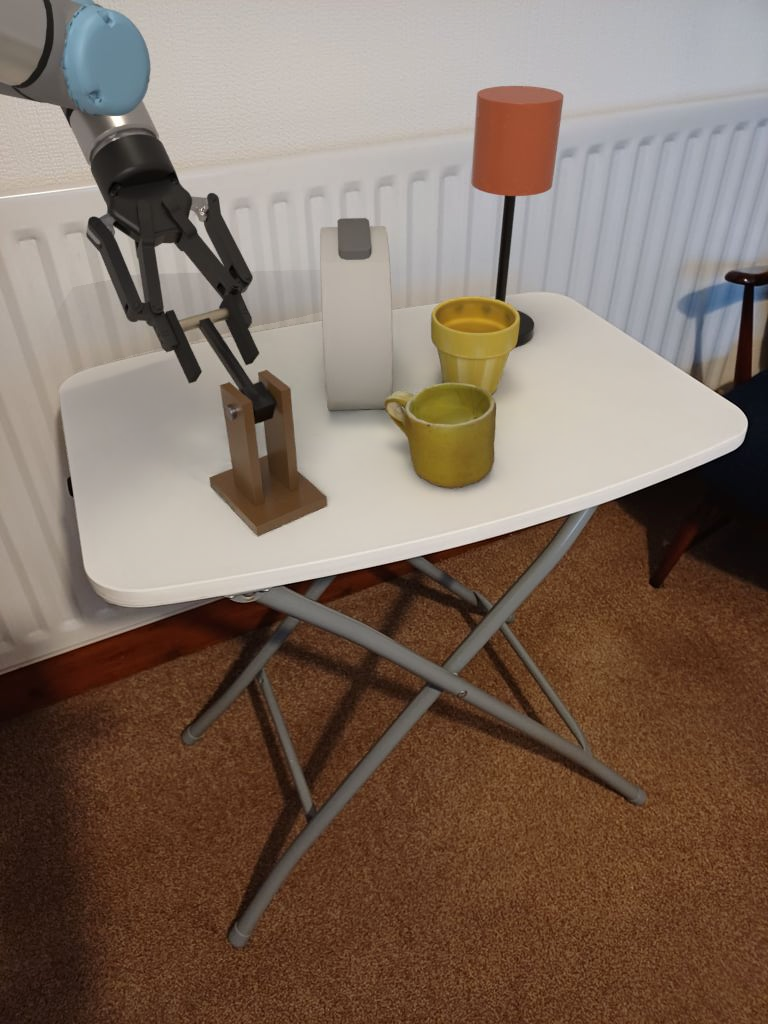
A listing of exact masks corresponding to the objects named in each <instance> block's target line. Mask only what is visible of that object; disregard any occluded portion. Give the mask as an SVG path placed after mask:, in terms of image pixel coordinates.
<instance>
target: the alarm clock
mask: <svg viewBox="0 0 768 1024" xmlns="http://www.w3.org/2000/svg"><path fill="white" fill-rule="evenodd" d="M336 223H337V226H323V227H321V228H320V232H319V238H320V239H319V255H320V257H319V258H320V263H319V264H320V292H321V293H320V295H321V296H320V297H321V319H322V322H321V323H322V342H323V343H322V344H323V362H324V363H323V364H324V377H325V378H324V379H325V394H326V406H327V410H328V411H354V410H355V411H356V410H357V411H358V410H359V411H360V410H386V408H385V405H384V403H385V400H386V399H387V398H388V397H389V396H391V395H392V394H393V371H394V370H393V369H394V368H393V366H394V364H393V363H394V359H393V358H394V357H393V356H394V354H393V353H394V351H393V349H394V348H393V347H394V346H393V345H394V343H393V342H394V341H393V339H394V338H393V337H394V336H393V335H394V334H393V332H394V331H393V298H392V297H393V296H392V276H391V273H392V272H391V259H390V258H391V257H390V245H389V238H388V236H389V235H388V232H387V228H386V226H385V225H375V226H374V225H372V226H370V220H369V219H368V218H366V217H351V218H349V217H348V218H339V219H338V220H337V222H336Z"/></svg>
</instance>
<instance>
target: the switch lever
mask: <svg viewBox="0 0 768 1024" xmlns="http://www.w3.org/2000/svg"><path fill="white" fill-rule="evenodd" d="M229 318H230V313H229V311H228V309H227V308H226V307H224V308H220V309H219V308H217V309H213V310H211V311H206V312H202V313H199V314H195V315H192V316H189V317H185V318H180V319H178V321H179V323H180V325H181V327H182V329H183V331H184V333H185V332H186V333H187V332H190V331H193V330H196V329H198V330H200V332H201V334H202V335H203V336H204V338H205V339H206V341H207V343H208V344H209V346H210V348H211V349H212V350H213V352H214V353H215V355H216V357H217V358H218V360H219V361H220V363H221V364H222V366H223V367H224V369H225V370H226V372H227V373H228V375H229V376H230V378H231V379H232V381H233V382H234V384H235V386H236V388H237V389H238V390H239V391H241V392H242V393H243V394H244V395H245V396H246V397H248V398H249V399H250V400H251V401H252V404H253V413H254V421H255V425H257V424H260V423H263V421H266V420H269V419H271V418H273V414H274V409H275V405H276V402H275V401H274V399H273V398H272V396H271V395H270V393H269V392H268V390H267V389H266V387H265V386H264V384H263V383H262V381H260V382H259V381H257V382H255V383H253V381H252V380H251V378H250V377H249V375H248V374H247V373H246V370H245V369H244V368H243V366H242V364H241V363H240V362H239V360H238V359H237V358H236V356H235V354H234V353H233V351H232V350H231V348H230V347H229V345H228V344H227V343H226V341H225V339H224V338H223V336H222V335H221V333H220V332H219V330H218V329H217V327H216V325H214V324H217V323H220V322H223V321H225V320H228V319H229Z"/></svg>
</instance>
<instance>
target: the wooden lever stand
mask: <svg viewBox="0 0 768 1024" xmlns="http://www.w3.org/2000/svg"><path fill="white" fill-rule="evenodd" d="M257 379H258V382H260V381H262V383H263V384H264V386H265V387H266V389H267V390H268V392H269V393H270V395H271V396H272V398H273V399H274V401H275V402H276V405H275V409H274V414H273V418H271V419H269V420H266V421H263V422H262V423H263V430H264V431H263V432H264V440H265V448H266V455H263V456H260V455H259V454H260V453H259V447H258V446H259V445H258V439H257V438H258V437H257V429H256V424H255V421H254V413H253V404H252V401H251V400H250V399H249V398H248V397H246V396H245V395H244V394H243V393H242V392H241V391H240V390H239V388H238V387H237V386H236V385H234V384H232V383H231V382H230V381H227V382H224V383H222V384H219V388H220V394H221V402H222V409H223V416H224V422H225V429H226V433H227V434H226V435H227V442H228V449H229V455H230V461H231V468H230V469H227V470H224V471H221V472H219V473H217V474H215V475H212V476H209V477H208V479H209V485H210V488H211V489H212V490H213V491H214V492H215V493H216V494H217V495H218V496H219V497H220V498H221V500H223V502H225V504H227V506H229V508H230V509H231V510H232V511H233V512H234V513H235V515H237V516H238V518H239V519H241V521H243V523H245V525H246V526H247V527H248V528H249V529H250V530H251V531H252V532H253V533H254V535H256V536H257V537H259V536H262V535H264V534H266V533H268V532H269V533H270V532H271V531H273V530H275V529H277V528H280V527H283V526H284V525H287V524H289V523H292V522H294V521H296V520H298V519H300V518H303V517H305V516H307V515H309V514H312V513H314V512H316V511H319V510H321V509H323V508H326V507H328V500H327V499H328V498H327V496H326V495H325V494H324V492H322V491H321V490H320V489H318V488H317V487H316V486H315V485H314V484H313V483H312V482H311V481H310V480H308V479H307V478H306V477H305V476H304V475H303V474H302V473H301V472H299V470H298V462H297V449H296V448H297V447H296V439H295V427H294V414H293V404H292V403H293V401H292V390H291V387H290V386H288V385H287V384H286V383H285V382H284V381H282V380H281V379H279V378H278V377H277V376H276V375H275V374H273V373H272V372H271V371H269V370H268V369H264V370H261V371H259V372H257Z"/></svg>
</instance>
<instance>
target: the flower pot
mask: <svg viewBox="0 0 768 1024" xmlns="http://www.w3.org/2000/svg"><path fill="white" fill-rule="evenodd" d="M517 310H518V309H516V308H515V307H514V306H513V305H511V304H509V303H507V302H506V301H505V302H503V301H500V300H496V299H495V298H492V297H487V296H461V297H460V296H459V297H454V298H450V299H447V300H444V301H442V302H440V303H438V304H437V305H436V306H435V307H434V308H433V310H432V311H431V315H430V337H431V342H432V344H433V346H434V347H435V348H436V349H437V354H438V359H439V364H440V365H439V366H440V372H441V375H442V382H443V383H463V384H470V385H475V386H477V387H479V388H482V389H484V390H486V391H487V392H489V393H490V394H491V395H493V394H494V393H495V392H496V391H497V390H498V387H499V384H500V382H501V379H502V376H503V372H504V369H505V367H506V365H507V360H508V359H509V355H510V353H511V351H513V350H514V349H515V348H516V347H515V346H516V344H517V339H518V333H519V325H520V315H519V313H518V311H519V310H518V311H517Z"/></svg>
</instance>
